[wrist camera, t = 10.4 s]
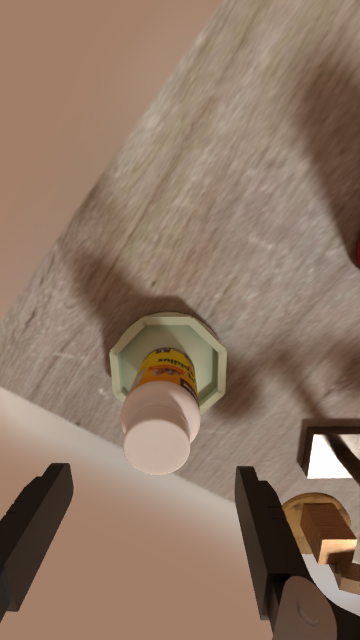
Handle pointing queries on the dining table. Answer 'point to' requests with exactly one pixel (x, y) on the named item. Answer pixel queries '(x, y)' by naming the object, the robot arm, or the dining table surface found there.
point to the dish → (177, 334)
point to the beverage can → (358, 252)
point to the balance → (328, 503)
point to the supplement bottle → (161, 412)
